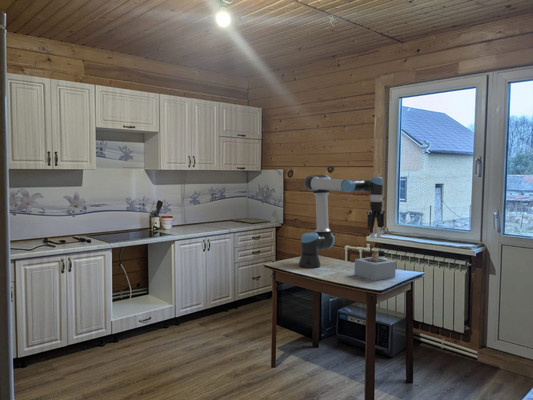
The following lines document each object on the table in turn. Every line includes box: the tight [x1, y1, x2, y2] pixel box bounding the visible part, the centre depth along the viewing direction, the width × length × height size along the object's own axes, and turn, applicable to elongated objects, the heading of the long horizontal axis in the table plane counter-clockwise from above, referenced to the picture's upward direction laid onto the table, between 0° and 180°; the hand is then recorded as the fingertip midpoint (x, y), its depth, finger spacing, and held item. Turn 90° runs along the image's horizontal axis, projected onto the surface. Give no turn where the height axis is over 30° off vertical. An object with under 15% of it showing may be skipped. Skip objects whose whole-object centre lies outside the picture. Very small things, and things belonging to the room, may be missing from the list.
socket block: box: [354, 256, 397, 282], centre depth 271 cm, size 18×18×10 cm
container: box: [376, 249, 389, 260], centre depth 289 cm, size 8×8×13 cm
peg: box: [371, 250, 379, 261], centre depth 270 cm, size 4×4×9 cm
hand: (375, 237), depth 269 cm, fingers open, 5 cm apart
